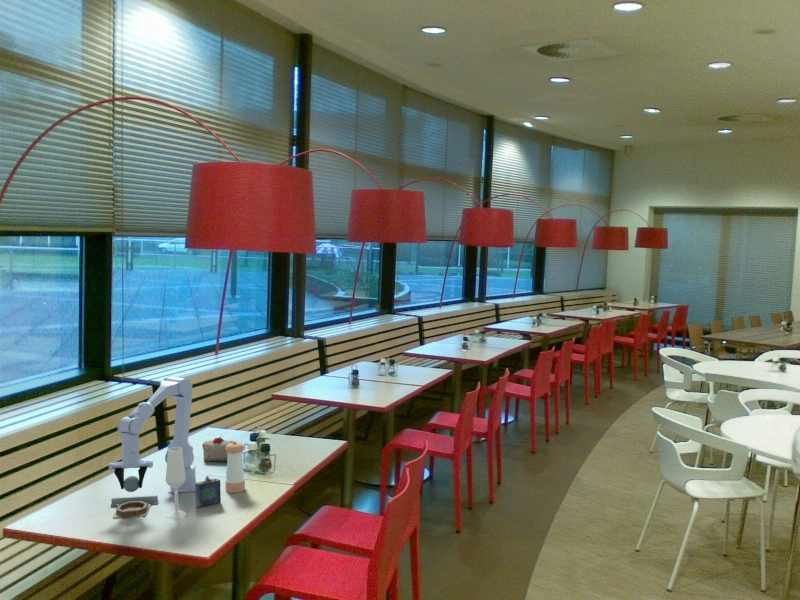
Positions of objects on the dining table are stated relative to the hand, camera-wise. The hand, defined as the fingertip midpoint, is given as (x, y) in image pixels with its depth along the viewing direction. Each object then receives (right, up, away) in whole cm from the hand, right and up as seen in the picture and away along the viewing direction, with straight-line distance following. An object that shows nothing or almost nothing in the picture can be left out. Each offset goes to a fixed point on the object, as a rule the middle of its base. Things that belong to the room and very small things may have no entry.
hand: (131, 487), depth 253 cm
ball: (0, +1, 0) cm, 1 cm away
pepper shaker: (+32, -7, +22) cm, 39 cm away
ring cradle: (0, -9, 0) cm, 9 cm away
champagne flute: (+17, -9, -3) cm, 20 cm away
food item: (+16, -3, +58) cm, 60 cm away
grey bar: (-2, -8, +7) cm, 11 cm away
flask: (+25, -8, +7) cm, 28 cm away
